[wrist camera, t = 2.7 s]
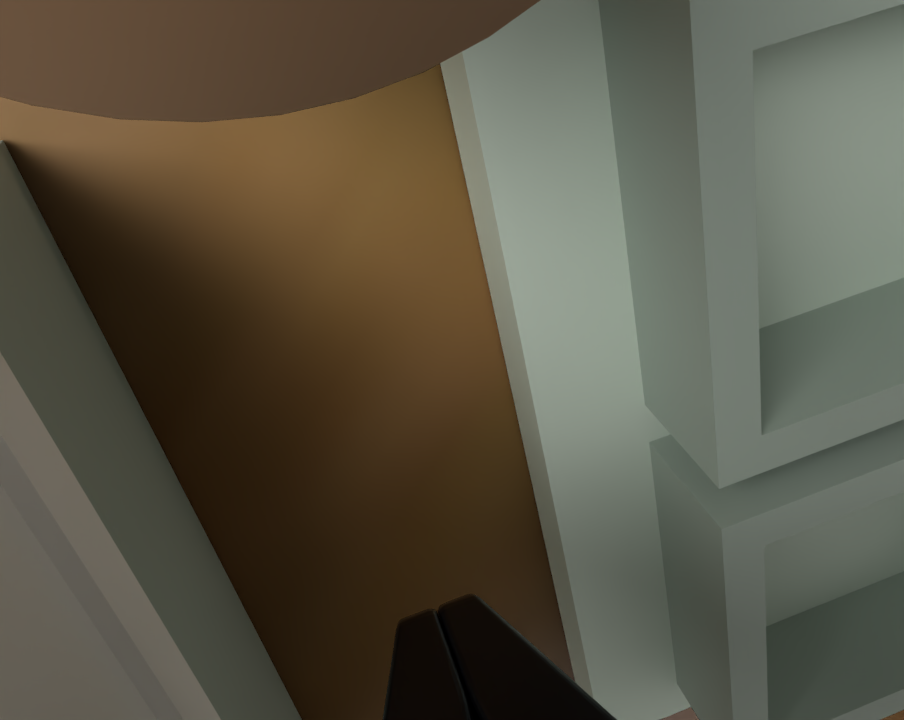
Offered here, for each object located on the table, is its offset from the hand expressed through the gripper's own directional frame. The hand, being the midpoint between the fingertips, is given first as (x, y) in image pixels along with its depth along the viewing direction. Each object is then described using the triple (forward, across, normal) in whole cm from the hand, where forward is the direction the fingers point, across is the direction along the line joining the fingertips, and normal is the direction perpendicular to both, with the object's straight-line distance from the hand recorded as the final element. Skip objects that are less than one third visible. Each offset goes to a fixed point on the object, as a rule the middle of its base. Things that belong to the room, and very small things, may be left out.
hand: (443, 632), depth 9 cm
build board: (+4, -7, +1) cm, 8 cm away
